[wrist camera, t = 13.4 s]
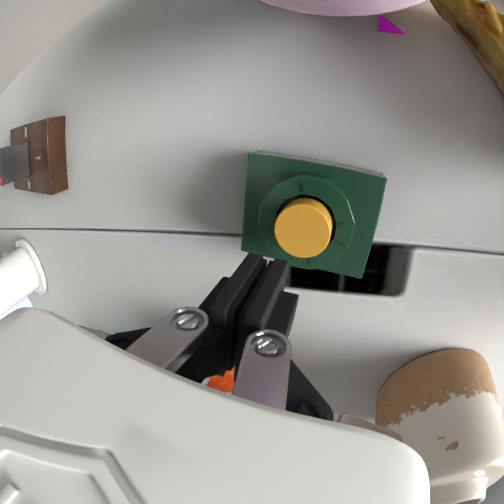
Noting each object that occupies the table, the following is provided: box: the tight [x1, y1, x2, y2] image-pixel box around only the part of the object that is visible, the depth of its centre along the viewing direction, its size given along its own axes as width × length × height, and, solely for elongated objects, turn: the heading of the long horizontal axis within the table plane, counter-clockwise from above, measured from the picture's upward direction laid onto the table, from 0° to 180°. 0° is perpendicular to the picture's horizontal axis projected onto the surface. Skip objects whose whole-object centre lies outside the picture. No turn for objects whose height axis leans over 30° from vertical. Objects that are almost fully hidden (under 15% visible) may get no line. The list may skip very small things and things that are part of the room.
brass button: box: [274, 198, 332, 258], centre depth 18 cm, size 4×4×2 cm
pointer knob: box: [0, 141, 30, 185], centre depth 25 cm, size 5×2×5 cm, turn 175°
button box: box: [241, 151, 387, 279], centre depth 20 cm, size 10×8×4 cm
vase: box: [375, 349, 504, 504], centre depth 18 cm, size 15×15×17 cm
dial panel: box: [10, 116, 68, 195], centre depth 29 cm, size 14×10×3 cm
